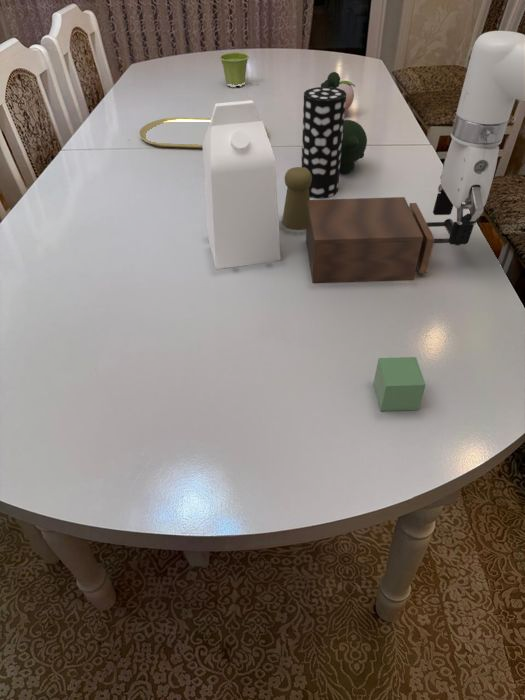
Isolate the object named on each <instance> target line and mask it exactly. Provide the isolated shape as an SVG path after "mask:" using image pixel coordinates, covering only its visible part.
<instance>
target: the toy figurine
mask: <svg viewBox="0 0 525 700" xmlns="http://www.w3.org/2000/svg"><path fill="white" fill-rule="evenodd" d="M340 82H341V77H340V74H339V73H338V72H336V71H332V72H330V73H329V74H328V75H327V78H326V79H325V81H323V82H322V83H321V84H320V87H333V88H337V87H338V86H339V83H340ZM367 144H368V137H367V134H366V131H365V129H364V127H363V126H362V125H361V124H359V122H357V121H356V120H351V119H344V126H343V138H342V149H341V160H340V172H339V173H341V174H347V173H350V172H352V171H354V169H355V167H356V164H355V162H357V161H358V160H360V159H363V158H364V157H365V152H366V148H367V146H368V145H367ZM345 172H346V173H345Z"/></svg>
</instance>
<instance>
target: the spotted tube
mask: <svg viewBox="0 0 525 700" xmlns="http://www.w3.org/2000/svg"><path fill="white" fill-rule="evenodd" d="M345 104H346V92H345V91H344V90H341V89H338V88H333V87H321V86H317V87H311V88H308V89H307V90H305V91H304V92H303V105H302V106H303V107H302V137H301V139H302V140H301V163H300V164H301V166H300V167H303V168H306V169H308V170H309V171H310V173H311V175H312V182H311V185H310V186H309V197H310V198H313V199H327V198H328V199H329V198H331V197H333V196H335V195H336V194H337V193H338V191H339V183H340V182H339V181H340V173H341V172H340V160H341V149H342V138H343V126H344V120H345V115H346V114H345V112H346V111H345Z"/></svg>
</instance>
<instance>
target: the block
mask: <svg viewBox="0 0 525 700" xmlns="http://www.w3.org/2000/svg"><path fill="white" fill-rule="evenodd" d="M373 387H374V391H375V396H376V398H377V399H376V400H377V403H378V407H379V411H380V412H394V411H396V412H397V411H419V409H420V404H421V401H422V397H423V395H424V392H425V389H426V382H425V379H424V376H423V373H422V370H421V367H420V365H419V362H418V359H417V357H416V356H404V357H403V356H401V357H379V358H378V359H377V363H376V368H375V374H374V379H373Z"/></svg>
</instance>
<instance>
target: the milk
mask: <svg viewBox="0 0 525 700" xmlns="http://www.w3.org/2000/svg"><path fill="white" fill-rule="evenodd" d="M213 106H214V107H213V109H212V114H211V117H210V118H211V120H210V124H209V126H208V129H207V131H206V134H205V136H204V139H203V148H202V160H203V161H202V162H203V163H202V164H203V182H204V196H205V197H204V199H205V213H206V215H205V216H206V217H205V219H206V233H207V240H208V244H209V247H210V248H209V249H210V251H211V257H212V260H213V263H214V268H215V270H221V269H229V268H235V267H236V268H237V267H243V266H249V265H257V264H264V263H271V262H278V261H281V242H280V225H279V224H280V222H279V221H280V219H279V203H278V202H279V200H278V179H277V178H278V177H277V163H276V158H275V154H274V151H273V148H272V145H271V142H270V139H269V136H268V133H266V130H265V127H266V126H265V125H264V122H263V120H262V117H261V116H260V112H259V111H258V108H257V107H256V104H255V103H254V101H253V100H252V99H249V100H240V101H238V100H237V101H230V102H229V101H228V102H219V103H217V102H216V103H214V105H213ZM264 126H265V127H264Z"/></svg>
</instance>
